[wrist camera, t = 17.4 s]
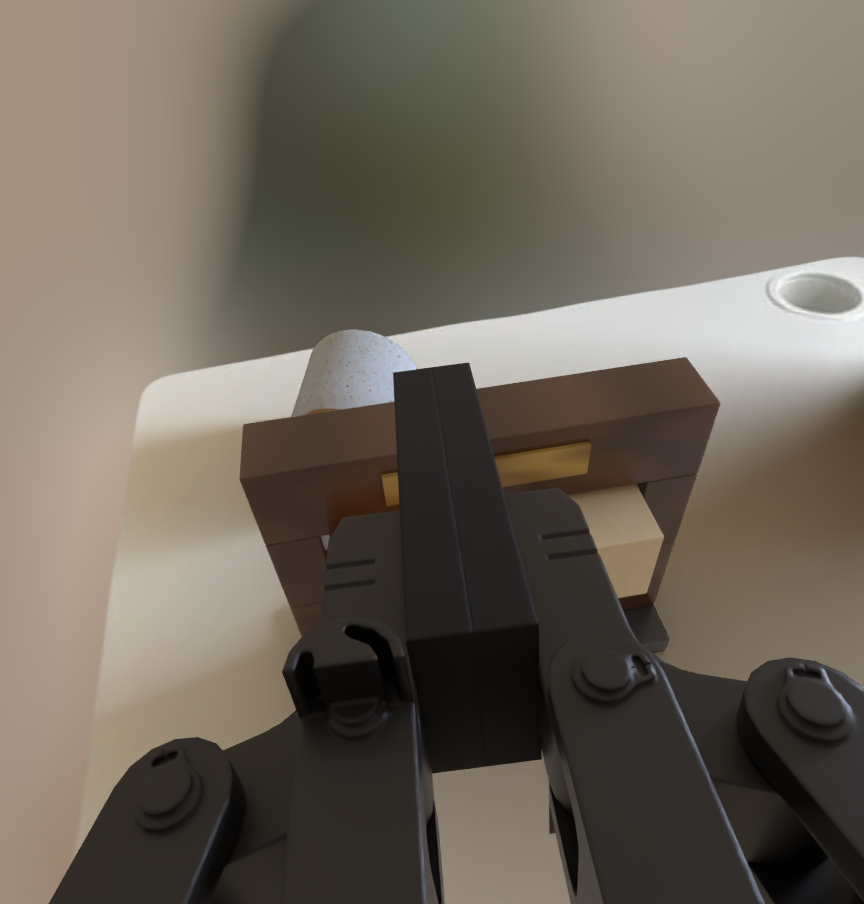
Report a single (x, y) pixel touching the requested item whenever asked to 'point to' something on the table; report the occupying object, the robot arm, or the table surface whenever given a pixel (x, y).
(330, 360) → the ceramic mug
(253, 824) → the robot arm
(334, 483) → the brown wooden upright panel
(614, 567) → the beige key
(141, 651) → the table surface
